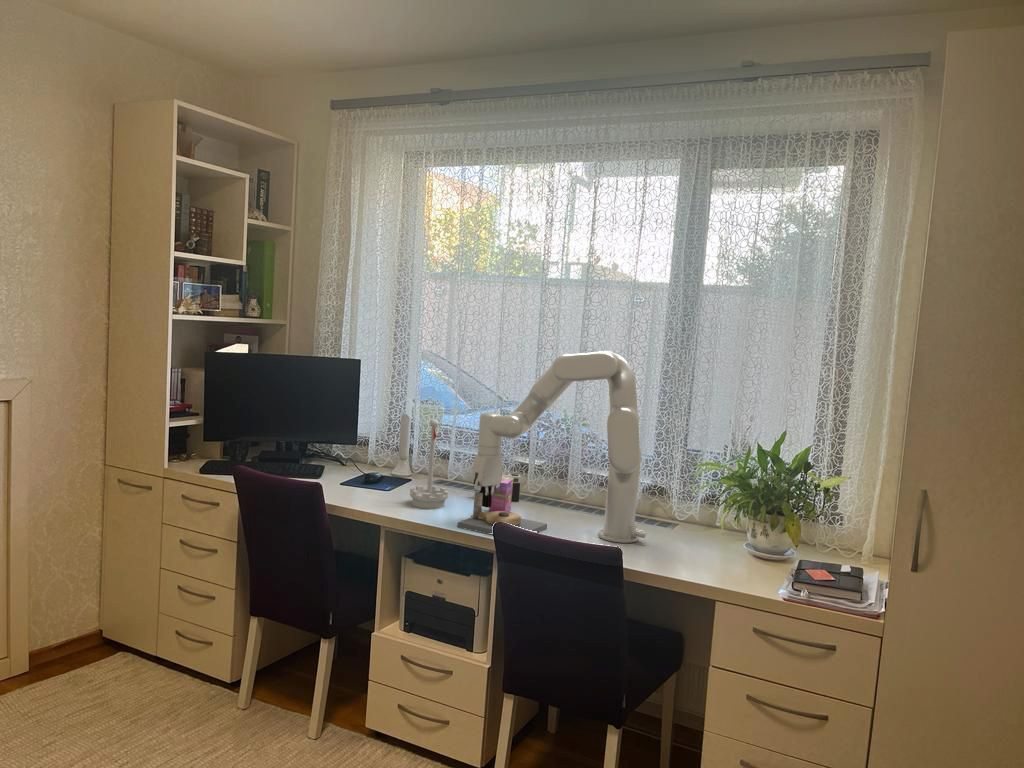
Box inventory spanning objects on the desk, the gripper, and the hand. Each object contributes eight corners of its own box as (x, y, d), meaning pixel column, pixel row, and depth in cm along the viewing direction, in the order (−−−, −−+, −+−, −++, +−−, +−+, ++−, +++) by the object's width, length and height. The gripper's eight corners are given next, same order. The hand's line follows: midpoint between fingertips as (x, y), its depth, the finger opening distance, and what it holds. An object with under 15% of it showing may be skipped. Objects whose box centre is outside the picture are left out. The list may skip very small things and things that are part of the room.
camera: (481, 502, 289) (483, 475, 288) (480, 497, 297) (482, 470, 296) (519, 504, 290) (522, 477, 289) (518, 499, 298) (520, 473, 297)
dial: (524, 520, 259) (526, 496, 259) (514, 528, 249) (516, 502, 248) (479, 513, 264) (481, 489, 264) (466, 520, 254) (468, 495, 253)
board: (549, 527, 261) (549, 521, 261) (519, 540, 243) (519, 534, 242) (489, 514, 272) (489, 509, 271) (456, 526, 253) (456, 520, 253)
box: (504, 517, 269) (507, 483, 268) (488, 515, 270) (490, 481, 269) (511, 511, 279) (513, 477, 278) (495, 509, 280) (497, 475, 279)
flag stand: (406, 500, 283) (411, 416, 281) (442, 500, 287) (448, 417, 285) (413, 509, 271) (419, 421, 268) (451, 509, 275) (457, 422, 272)
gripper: (497, 447, 268) (493, 501, 270) (464, 450, 258) (461, 507, 259) (513, 450, 263) (510, 506, 265) (480, 454, 252) (477, 511, 254)
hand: (485, 506), depth 262 cm, fingers closed
